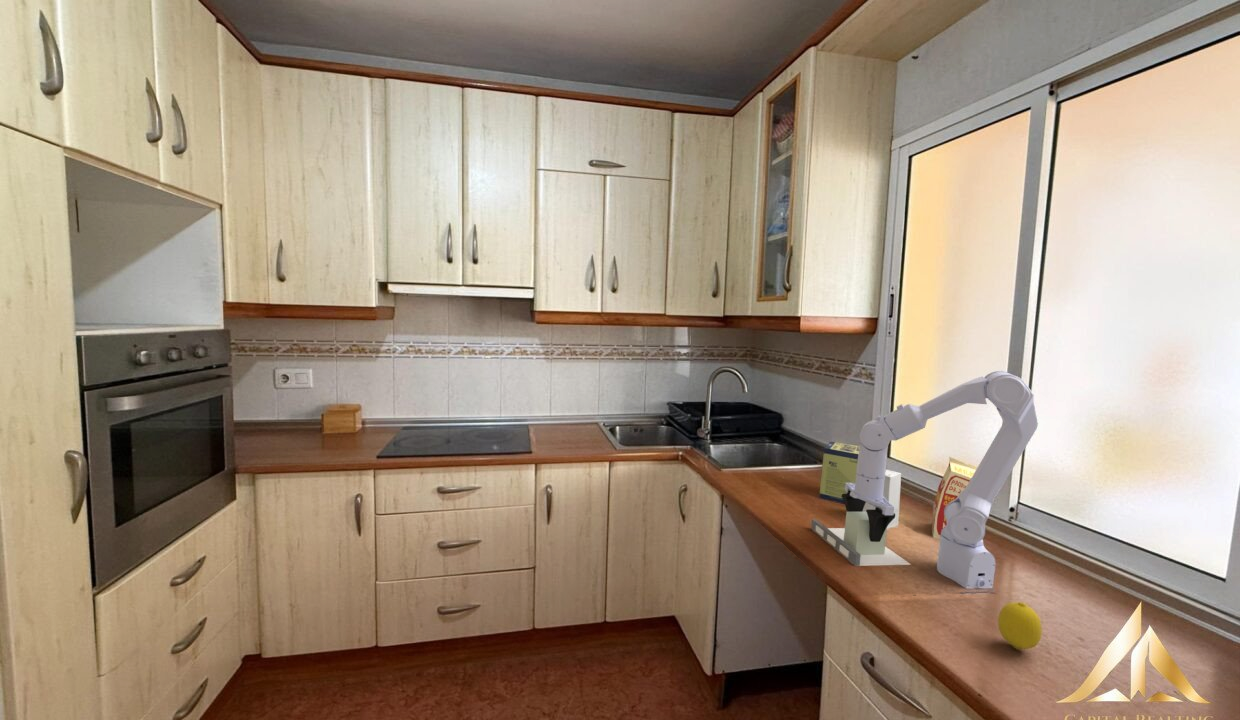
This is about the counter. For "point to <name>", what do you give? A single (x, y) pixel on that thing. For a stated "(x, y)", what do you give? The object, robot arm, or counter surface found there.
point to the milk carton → (950, 491)
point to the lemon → (1020, 625)
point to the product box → (862, 535)
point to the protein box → (838, 470)
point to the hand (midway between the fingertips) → (864, 533)
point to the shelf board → (837, 541)
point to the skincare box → (890, 495)
